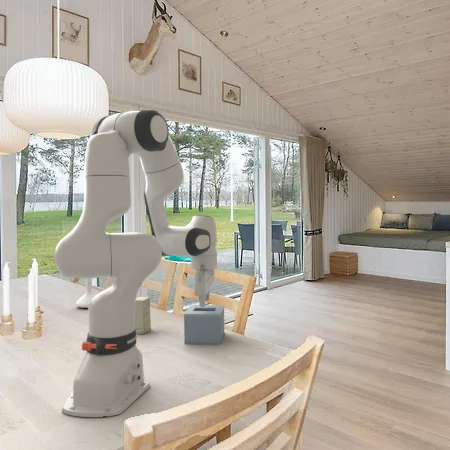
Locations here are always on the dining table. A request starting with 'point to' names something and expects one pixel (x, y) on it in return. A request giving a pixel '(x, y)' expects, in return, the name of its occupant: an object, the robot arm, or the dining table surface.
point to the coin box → (204, 324)
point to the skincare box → (142, 315)
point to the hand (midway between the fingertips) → (204, 303)
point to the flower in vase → (86, 295)
